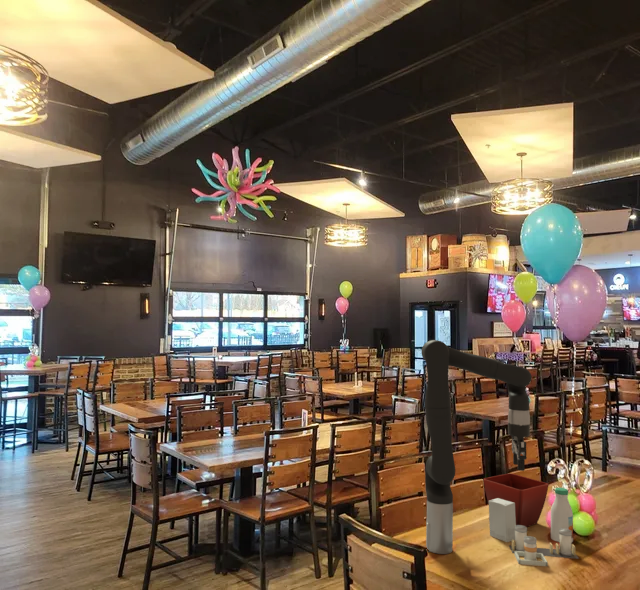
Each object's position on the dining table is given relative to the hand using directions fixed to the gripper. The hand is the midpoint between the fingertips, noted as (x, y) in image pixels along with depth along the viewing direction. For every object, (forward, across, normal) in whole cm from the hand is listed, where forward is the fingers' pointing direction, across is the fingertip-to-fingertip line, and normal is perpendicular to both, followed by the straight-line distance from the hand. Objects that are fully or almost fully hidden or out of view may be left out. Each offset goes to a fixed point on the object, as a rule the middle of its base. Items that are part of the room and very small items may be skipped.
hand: (518, 467), depth 200 cm
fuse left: (+29, +2, 0) cm, 29 cm away
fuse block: (+30, +2, +8) cm, 31 cm away
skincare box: (+30, -10, -4) cm, 32 cm away
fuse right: (+29, +2, +16) cm, 33 cm away
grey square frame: (+30, +10, +2) cm, 32 cm away
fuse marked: (+29, +10, +2) cm, 31 cm away
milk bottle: (+30, -13, +18) cm, 38 cm away
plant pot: (+30, -33, +5) cm, 45 cm away
